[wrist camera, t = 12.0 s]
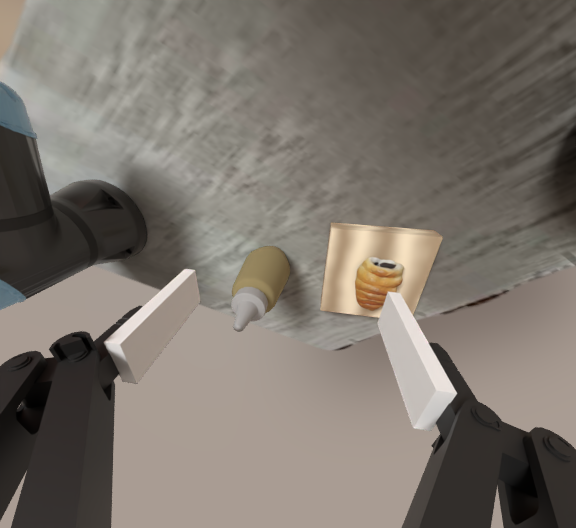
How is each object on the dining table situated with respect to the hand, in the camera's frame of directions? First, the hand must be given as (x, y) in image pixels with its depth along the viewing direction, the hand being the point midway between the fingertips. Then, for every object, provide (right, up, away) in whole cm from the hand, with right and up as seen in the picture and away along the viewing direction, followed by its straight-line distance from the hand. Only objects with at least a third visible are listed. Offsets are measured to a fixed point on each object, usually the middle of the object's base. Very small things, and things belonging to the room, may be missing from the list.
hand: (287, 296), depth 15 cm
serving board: (+15, +1, +24) cm, 28 cm away
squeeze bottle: (-3, +3, +26) cm, 26 cm away
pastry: (+15, 0, +21) cm, 26 cm away
